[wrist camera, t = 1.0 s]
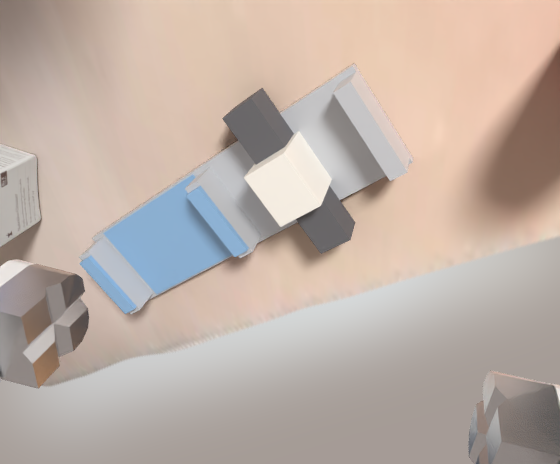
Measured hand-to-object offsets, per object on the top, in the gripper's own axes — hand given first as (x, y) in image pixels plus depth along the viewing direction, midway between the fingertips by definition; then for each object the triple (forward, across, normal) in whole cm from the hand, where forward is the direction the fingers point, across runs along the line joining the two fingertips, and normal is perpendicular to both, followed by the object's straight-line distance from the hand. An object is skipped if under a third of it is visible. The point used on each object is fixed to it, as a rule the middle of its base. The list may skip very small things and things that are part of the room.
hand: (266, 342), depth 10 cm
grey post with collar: (+33, +7, +10) cm, 35 cm away
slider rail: (+34, +13, +15) cm, 39 cm away
